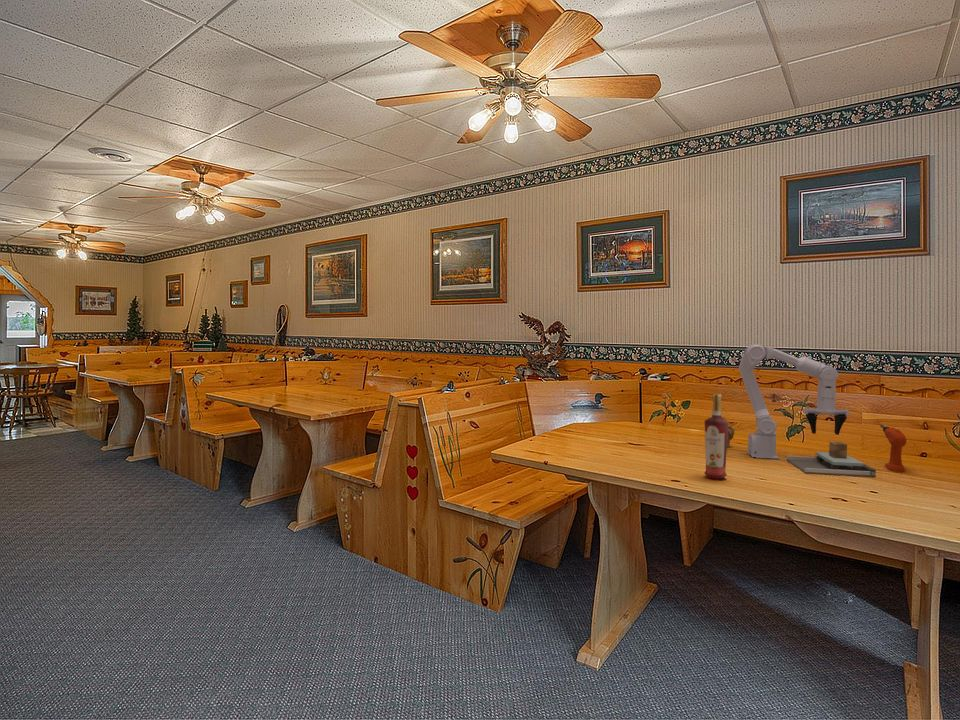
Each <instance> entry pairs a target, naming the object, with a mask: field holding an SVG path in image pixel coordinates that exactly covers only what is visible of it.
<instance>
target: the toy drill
mask: <svg viewBox="0 0 960 720" xmlns="http://www.w3.org/2000/svg"><path fill="white" fill-rule="evenodd" d="M879 426H880V427H881V428H882V432H883V434H884V435H885V437H886V439H887V441H888V443H890V445H891V446H890V452H889V453H890V454H889V461H888V462H887V463H885V464H884V468H885V467H886V468H887V469H886V468H885V469H886V470H888V469H889V470H888V471H890V470H891V472H894V471H896V472H897V473H905V472H904V471H906V468H905V466H904V465H903V462H902V460H903V459H902V451H903V448H904V447H905V446H906V444H907V436H906V435H905V434H904V433H903V432H902V431H901V430H900V429H897V428H895V427H890V426H885V425H884V424H880V425H879ZM896 472H895V473H896Z"/></svg>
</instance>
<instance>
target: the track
mask: <svg viewBox="0 0 960 720" xmlns="http://www.w3.org/2000/svg"><path fill="white" fill-rule="evenodd" d="M816 457H817V456H816ZM816 457H815V456H801V455H800V456H797V455H796V456H795V455H787V456H786V462H788V463H790V464H791V465H792V464H793V466H794V467H795V468H797V469H798V470H799V469H800V471H801V472H803V474H807V475H810V474H811V475H825V476H840V475H841V476H842V475H843V477H859V478H862V477H863V478H876V477H877V475H876V473H877V470H876V469H874V468H872V467H871V466H869V465H867V464H865V463H863V466H861V467H862V470H861V471H854V470H853V466H847V465H839V466H840V469H839V470H834V469H831V465H832V464H831V463H829V462H828V461H826V460H824V461H823V462H819V461H817V459H816Z"/></svg>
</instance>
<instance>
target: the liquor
mask: <svg viewBox="0 0 960 720" xmlns="http://www.w3.org/2000/svg"><path fill="white" fill-rule="evenodd" d="M721 403H722V394H721V393H712V413H711V417H708V418H707V419H706V420H704V443H705V444H704V445H705V471H704V472H703V473H704V474H705V476H707V478H708V479H710V480H711V479H712V480H723V479H724V478H726V476H728V475H727V473H726V468H727V466H726V465H727V449H728V448H727V440H728V426H730V423H729V421H728V420H727V419H725V418H722V417H723V416H722V405H721Z"/></svg>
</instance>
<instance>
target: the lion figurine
mask: <svg viewBox="0 0 960 720" xmlns="http://www.w3.org/2000/svg"><path fill="white" fill-rule="evenodd" d="M734 436H735V429H734V427H733V426H732V425H729V426H728V440H727V447H730V444H731V441H732V440H733V438H734Z"/></svg>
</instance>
